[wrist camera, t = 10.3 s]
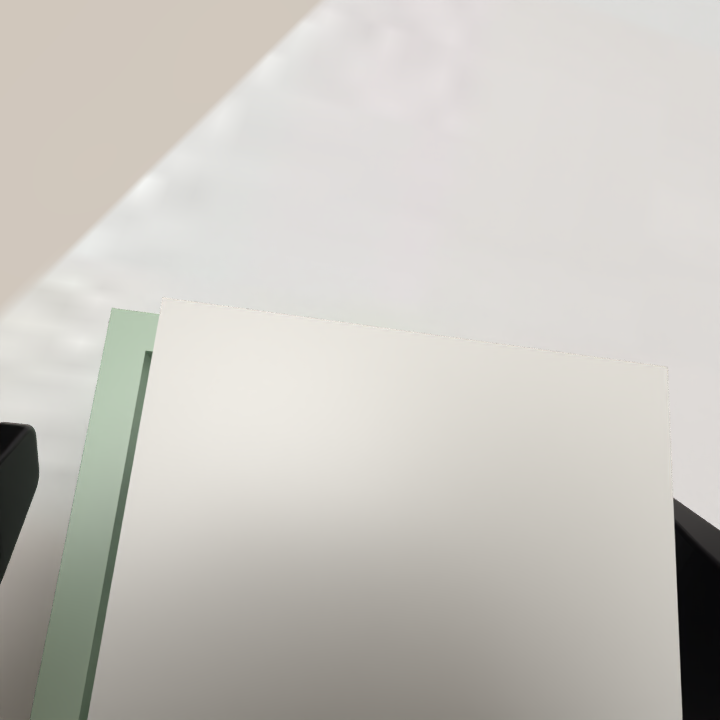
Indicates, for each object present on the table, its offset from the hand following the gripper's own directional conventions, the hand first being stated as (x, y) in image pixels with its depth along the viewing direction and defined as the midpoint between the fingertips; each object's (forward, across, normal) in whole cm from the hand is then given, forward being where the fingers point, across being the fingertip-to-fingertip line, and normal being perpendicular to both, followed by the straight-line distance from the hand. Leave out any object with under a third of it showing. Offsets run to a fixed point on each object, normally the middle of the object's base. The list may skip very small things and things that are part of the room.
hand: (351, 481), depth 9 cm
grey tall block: (+5, 0, +7) cm, 8 cm away
